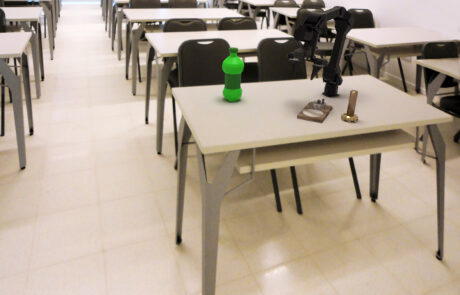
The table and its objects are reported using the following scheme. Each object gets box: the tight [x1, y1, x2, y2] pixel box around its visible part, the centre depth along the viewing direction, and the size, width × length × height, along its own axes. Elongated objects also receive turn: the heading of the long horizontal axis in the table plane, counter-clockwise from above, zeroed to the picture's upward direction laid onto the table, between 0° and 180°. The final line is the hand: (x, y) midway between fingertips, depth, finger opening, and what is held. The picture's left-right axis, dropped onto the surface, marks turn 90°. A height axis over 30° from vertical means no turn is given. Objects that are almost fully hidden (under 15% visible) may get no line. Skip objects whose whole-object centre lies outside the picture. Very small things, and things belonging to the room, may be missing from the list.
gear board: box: [296, 98, 333, 124], centre depth 168 cm, size 20×11×6 cm, turn 153°
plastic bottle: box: [221, 46, 245, 102], centre depth 178 cm, size 10×10×25 cm
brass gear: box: [340, 89, 359, 124], centre depth 161 cm, size 7×7×13 cm
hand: (302, 78), depth 170 cm, fingers open, 9 cm apart
